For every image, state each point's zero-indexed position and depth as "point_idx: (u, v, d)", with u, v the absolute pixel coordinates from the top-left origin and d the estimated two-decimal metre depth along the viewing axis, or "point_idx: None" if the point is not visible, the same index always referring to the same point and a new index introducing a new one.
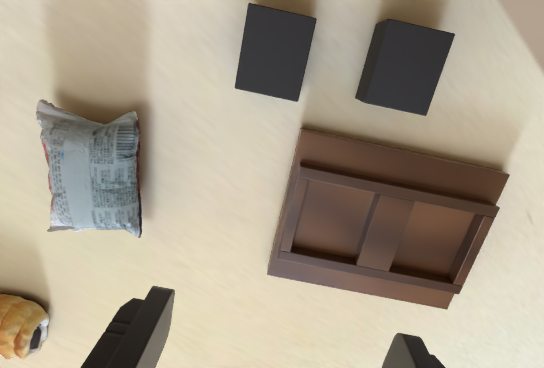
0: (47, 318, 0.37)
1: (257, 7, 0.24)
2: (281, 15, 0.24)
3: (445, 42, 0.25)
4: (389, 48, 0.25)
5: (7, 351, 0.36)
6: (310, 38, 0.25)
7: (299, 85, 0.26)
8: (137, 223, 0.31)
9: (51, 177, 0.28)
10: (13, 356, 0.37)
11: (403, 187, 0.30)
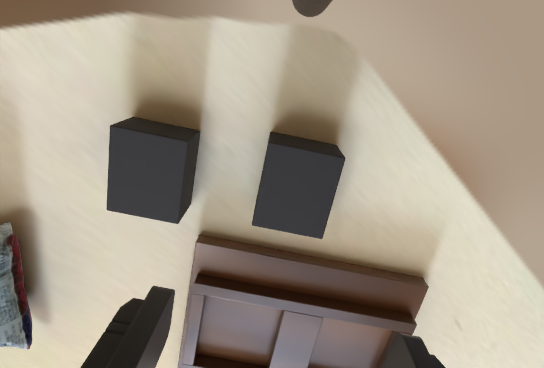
0: None
1: (120, 130, 0.21)
2: (148, 138, 0.22)
3: (335, 166, 0.22)
4: (273, 172, 0.22)
5: None
6: (183, 161, 0.22)
7: (177, 208, 0.23)
8: (21, 338, 0.28)
9: None
10: None
11: (309, 303, 0.27)
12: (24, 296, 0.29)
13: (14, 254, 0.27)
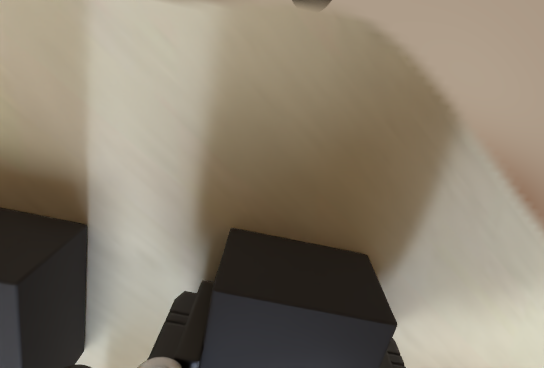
0: None
1: None
2: None
3: (372, 341, 0.09)
4: (226, 349, 0.09)
5: None
6: (13, 325, 0.09)
7: None
8: None
9: None
10: None
11: None
12: None
13: None
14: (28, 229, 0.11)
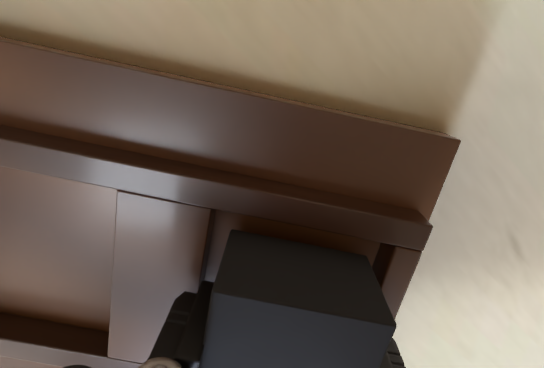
0: None
1: None
2: None
3: (372, 342, 0.09)
4: (225, 350, 0.09)
5: None
6: None
7: None
8: None
9: None
10: None
11: (175, 172, 0.11)
12: None
13: None
14: None
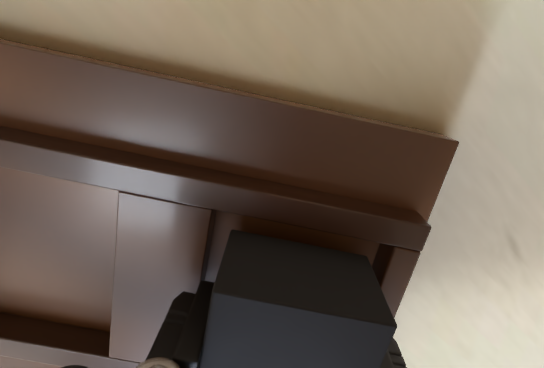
0: None
1: None
2: None
3: (372, 342, 0.09)
4: (226, 351, 0.09)
5: None
6: None
7: None
8: None
9: None
10: None
11: (176, 173, 0.11)
12: None
13: None
14: None
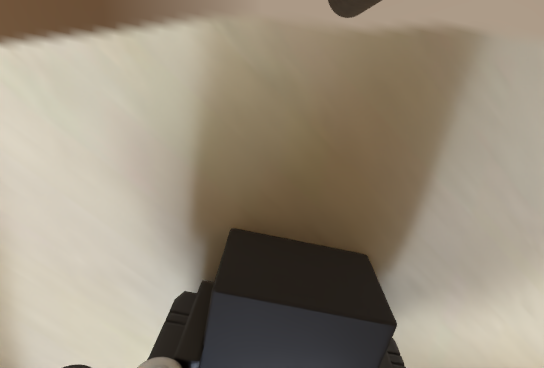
0: None
1: (236, 299, 0.09)
2: (301, 316, 0.09)
3: None
4: None
5: None
6: (377, 363, 0.09)
7: None
8: None
9: None
10: None
11: None
12: None
13: None
14: (333, 262, 0.11)
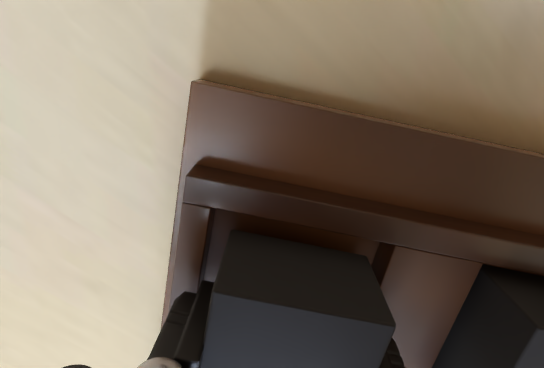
0: None
1: (236, 301, 0.09)
2: (301, 318, 0.09)
3: None
4: None
5: None
6: (377, 364, 0.09)
7: None
8: None
9: None
10: None
11: (454, 229, 0.12)
12: None
13: None
14: (333, 263, 0.11)
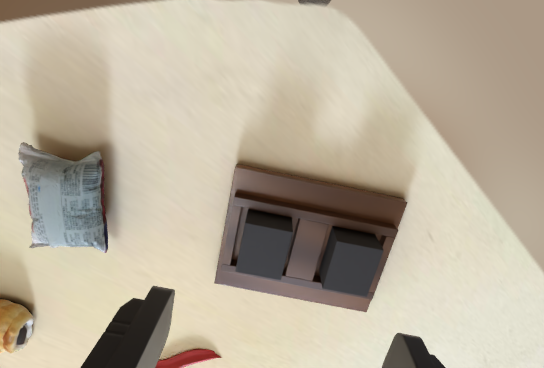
0: (31, 318, 0.44)
1: (251, 225, 0.35)
2: (268, 230, 0.35)
3: (377, 255, 0.35)
4: (338, 257, 0.36)
5: None
6: (288, 243, 0.35)
7: (281, 271, 0.36)
8: (103, 241, 0.38)
9: (31, 206, 0.35)
10: (2, 350, 0.43)
11: (318, 213, 0.36)
12: (104, 211, 0.38)
13: (101, 175, 0.36)
14: (279, 218, 0.37)
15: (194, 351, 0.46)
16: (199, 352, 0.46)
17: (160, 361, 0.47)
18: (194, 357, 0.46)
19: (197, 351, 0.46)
